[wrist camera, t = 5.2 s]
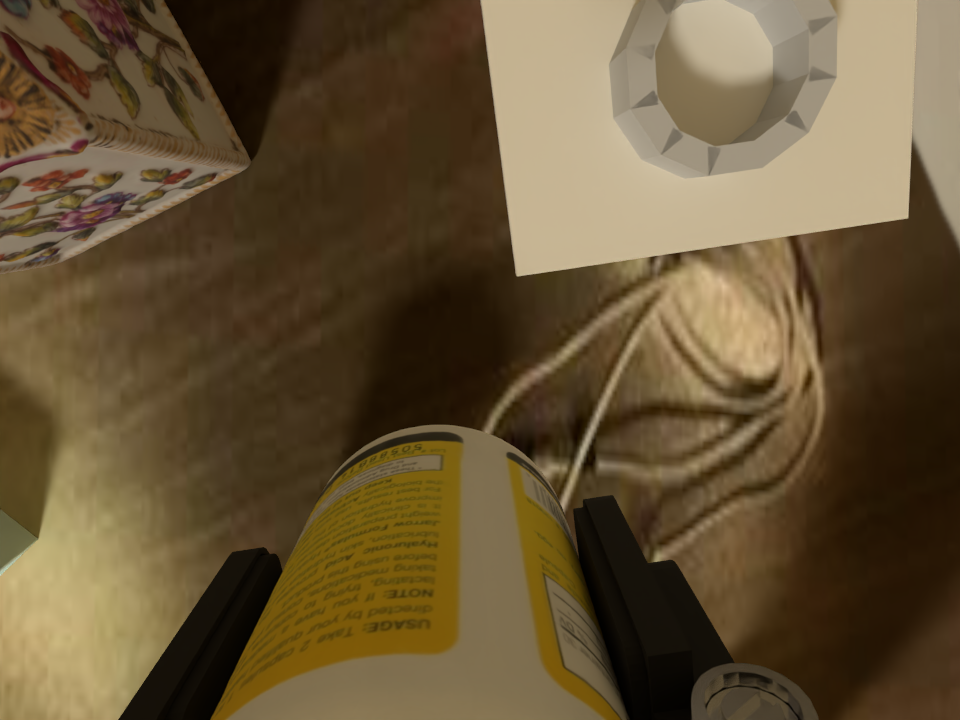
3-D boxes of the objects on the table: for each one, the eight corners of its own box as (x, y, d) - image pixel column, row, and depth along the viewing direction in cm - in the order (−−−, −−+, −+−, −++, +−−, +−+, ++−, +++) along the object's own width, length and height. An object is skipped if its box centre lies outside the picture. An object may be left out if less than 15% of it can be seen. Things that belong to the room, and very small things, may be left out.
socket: (901, 218, 30) (955, 219, 27) (515, 275, 31) (522, 284, 27) (915, -149, 26) (982, -202, 23) (470, -79, 26) (471, -121, 23)
